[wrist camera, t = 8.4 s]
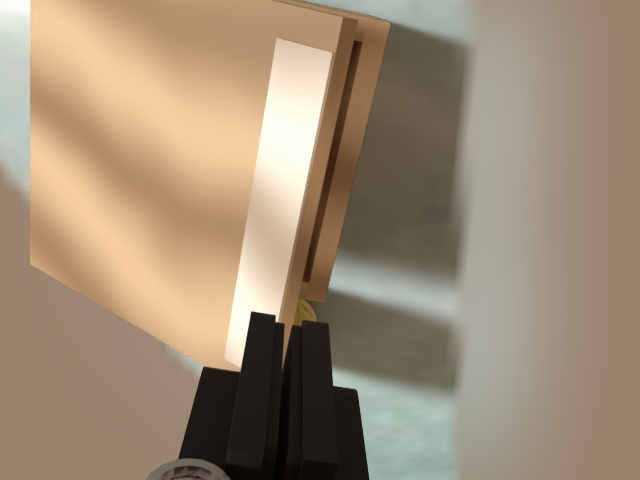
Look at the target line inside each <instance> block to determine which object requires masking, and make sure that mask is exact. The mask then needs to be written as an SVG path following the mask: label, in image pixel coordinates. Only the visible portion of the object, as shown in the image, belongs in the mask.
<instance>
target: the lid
mask: <svg viewBox="0 0 640 480" xmlns="http://www.w3.org/2000/svg"><path fill="white" fill-rule="evenodd" d="M357 23H358V20H357V19H353V18H348V17H344V16H340V15H336V14H331V13H327V12H323V11H318V10H314V9H310V8H306V7H301V6H297V5H293V4H289V3H284V2H280V1H276V0H31V77H30V264H31V265H33V266H34V267H36V268H38V269H40V270H41V271H43V272H45V273H46V274H48V275H50V276H52V277H53V278H55V279H57V280H59V281H60V282H62V283H64V284H65V285H67V286H69V287H70V288H72V289H74V290H76V291H77V292H79V293H81V294H82V295H84V296H86V297H87V298H89V299H91V300H93V301H94V302H96V303H98V304H100V305H102V306H103V307H105V308H106V309H108V310H110V311H111V312H113V313H115V314H117V315H118V316H120V317H122V318H123V319H125V320H127V321H129V322H130V323H132V324H134V325H135V326H137V327H139V328H141V329H142V330H144V331H146V332H147V333H149V334H151V335H153V336H154V337H156V338H158V339H159V340H161V341H163V342H164V343H166V344H168V345H170V346H171V347H173V348H175V349H176V350H178V351H180V352H182V353H183V354H185V355H187V356H188V357H190V358H192V359H194V360H195V361H197V362H199V363H200V364H202V365H204V366H206V367H211V368H218V369H224V370H231V371H238V372H240V370H241V365H242V359H243V353H244V348H245V342H246V337H247V331H248V326H249V320H250V315H251V311H254V312H260V313H266V314H272V315H276V322H279V323H285V330H284V347H283V363H282V369H283V364H284V359H285V355H286V350H287V345H288V341H289V336H290V332H291V327H292V325H293V320H294V316H295V311H296V306H297V302H298V297H299V292H300V288H301V283H302V278H303V274H304V269H305V265H306V260H307V255H308V251H309V246H310V241H311V237H312V232H313V227H314V223H315V218H316V214H317V209H318V204H319V200H320V195H321V190H322V186H323V181H324V176H325V172H326V167H327V163H328V158H329V153H330V149H331V144H332V139H333V135H334V130H335V125H336V121H337V116H338V112H339V107H340V102H341V98H342V93H343V88H344V84H345V79H346V74H347V70H348V65H349V61H350V56H351V51H352V47H353V42H354V37H355V33H356V28H357Z"/></svg>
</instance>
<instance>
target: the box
mask: <svg viewBox="0 0 640 480" xmlns="http://www.w3.org/2000/svg"><path fill="white" fill-rule="evenodd" d="M276 1H280V2H284V3H289V4H293V5H297V6H301V7H306V8H310V9H314V10H318V11H323V12H327V13H331V14H336V15H340V16H344V17H348V18H353V19H357V20H358V23H357V28H356V33H355V37H354V42H353V47H352V51H351V56H350V61H349V65H348V70H347V74H346V79H345V84H344V88H343V93H342V98H341V102H340V107H339V112H338V116H337V121H336V125H335V130H334V135H333V139H332V144H331V149H330V153H329V158H328V163H327V167H326V172H325V176H324V181H323V186H322V190H321V195H320V200H319V204H318V209H317V214H316V218H315V223H314V227H313V232H312V237H311V241H310V246H309V251H308V255H307V260H306V265H305V269H304V274H303V278H302V283H301V288H300V292H299V297H298V299H303V300H309V301H315V302H321V303H324V302H325V298H326V294H327V290H328V286H329V281H330V277H331V273H332V269H333V265H334V260H335V256H336V252H337V248H338V244H339V239H340V235H341V231H342V227H343V222H344V218H345V214H346V210H347V206H348V201H349V197H350V193H351V189H352V185H353V180H354V176H355V172H356V168H357V164H358V159H359V155H360V151H361V147H362V142H363V138H364V134H365V130H366V126H367V121H368V117H369V113H370V109H371V105H372V100H373V96H374V92H375V88H376V84H377V79H378V75H379V71H380V67H381V62H382V58H383V54H384V50H385V46H386V41H387V37H388V33H389V29H390V25H391V23H390V22H387V21H384V20H381V19H379V18H376V17H373V16H369V15H365V14H360V13H356V12H351V11H347V10H342V9H338V8H333V7H329V6H324V5H320V4H315V3H311V2H306V1H302V0H276Z"/></svg>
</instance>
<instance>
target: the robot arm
mask: <svg viewBox="0 0 640 480" xmlns="http://www.w3.org/2000/svg"><path fill="white" fill-rule="evenodd" d="M284 330H285V323H279V322H276V315H272V314H266V313H260V312H254V311H251V315H250V320H249V326H248V331H247V337H246V342H245V348H244V353H243V359H242V365H241V370H240V372H238V371H231V370H224V369H218V368H211V367H205V366H204V367H203V370H202V373H201V377H200V381H199V384H198V388H197V392H196V395H195V399H194V403H193V407H192V410H191V414H190V418H189V421H188V425H187V428H186V432H185V436H184V440H183V443H182V447H181V450H180V454H179V458H178V460H174V461H171V462H168V463H166V464H163V465H161V466H160V467H158V468H157V469H156V470H154V471H153V472H152V473H151V474H150V475H149V476H148V478H147V479H146V480H369V474H368V466H367V459H366V451H365V444H364V436H363V429H362V421H361V414H360V406H359V399H358V393H357V391H356V390H355V389H350V388H343V387H337V386H333V379H332V365H331V351H330V337H329V325H328V324H327V323H321V322H315V321H309V320H303V321H302V324H301V326H298V325H292V327H291V332H290V336H289V341H288V345H287V350H286V355H285V359H284V364H283V369H282V363H283V347H284Z"/></svg>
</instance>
